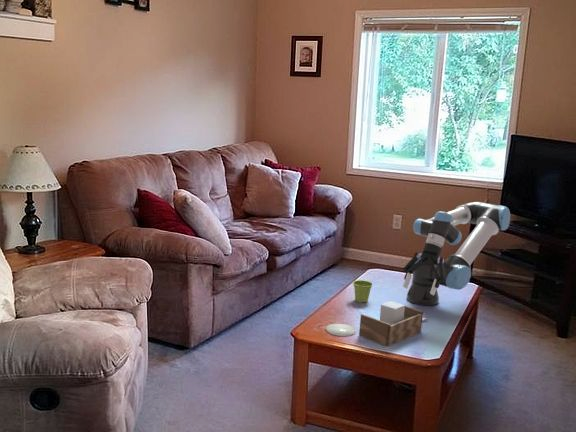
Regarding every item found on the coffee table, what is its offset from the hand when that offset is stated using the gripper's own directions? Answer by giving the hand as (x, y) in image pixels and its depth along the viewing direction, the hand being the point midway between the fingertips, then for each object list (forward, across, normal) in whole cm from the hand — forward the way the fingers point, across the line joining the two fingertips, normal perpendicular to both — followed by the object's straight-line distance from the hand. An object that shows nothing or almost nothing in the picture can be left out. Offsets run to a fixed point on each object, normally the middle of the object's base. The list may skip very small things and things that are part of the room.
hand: (418, 291), depth 262 cm
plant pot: (+10, -33, +9) cm, 35 cm away
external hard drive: (+12, -5, +9) cm, 16 cm away
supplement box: (+22, 0, -10) cm, 25 cm away
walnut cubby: (+22, 0, -10) cm, 24 cm away
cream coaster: (+28, -15, -23) cm, 39 cm away
